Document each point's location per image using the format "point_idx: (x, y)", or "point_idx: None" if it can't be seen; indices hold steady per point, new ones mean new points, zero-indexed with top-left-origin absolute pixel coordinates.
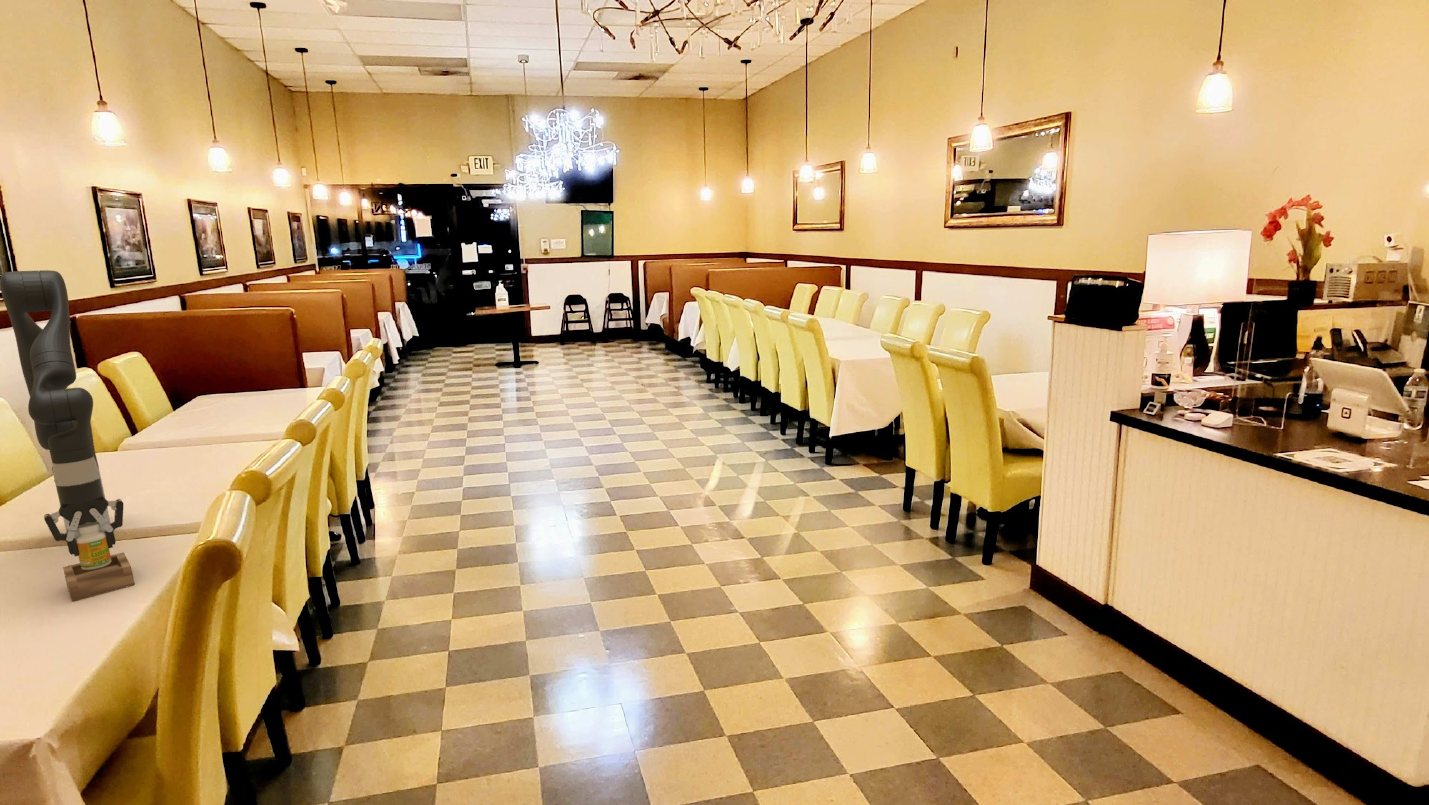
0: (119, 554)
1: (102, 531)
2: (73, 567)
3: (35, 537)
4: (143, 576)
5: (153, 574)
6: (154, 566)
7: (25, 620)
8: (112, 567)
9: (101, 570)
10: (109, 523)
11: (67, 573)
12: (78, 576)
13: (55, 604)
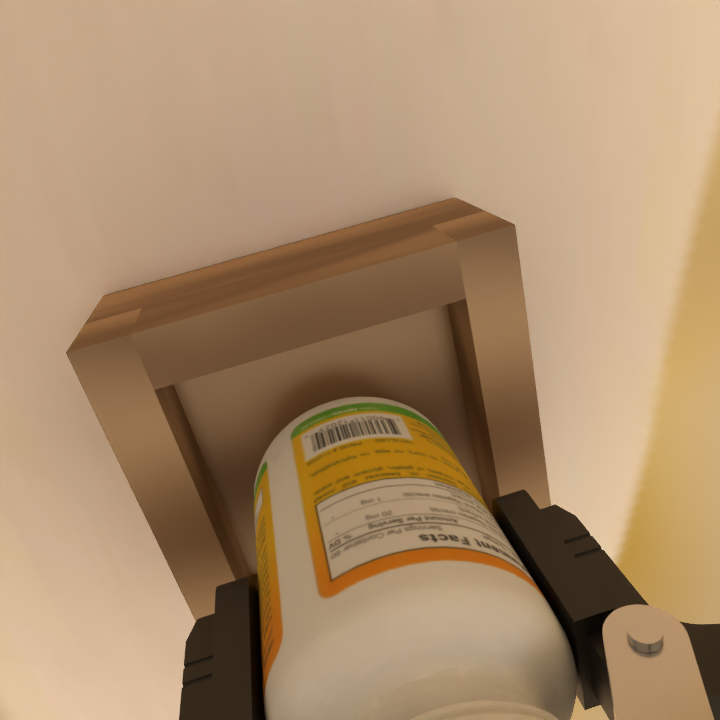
0: (486, 266)
1: (566, 708)
2: (162, 383)
3: None
4: (542, 374)
5: (591, 370)
6: (607, 222)
7: (57, 697)
8: (410, 331)
9: (344, 357)
10: (701, 692)
11: (164, 520)
12: (205, 399)
13: (140, 568)
